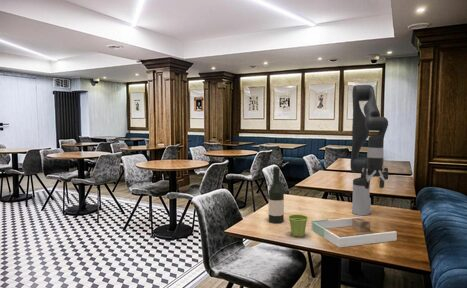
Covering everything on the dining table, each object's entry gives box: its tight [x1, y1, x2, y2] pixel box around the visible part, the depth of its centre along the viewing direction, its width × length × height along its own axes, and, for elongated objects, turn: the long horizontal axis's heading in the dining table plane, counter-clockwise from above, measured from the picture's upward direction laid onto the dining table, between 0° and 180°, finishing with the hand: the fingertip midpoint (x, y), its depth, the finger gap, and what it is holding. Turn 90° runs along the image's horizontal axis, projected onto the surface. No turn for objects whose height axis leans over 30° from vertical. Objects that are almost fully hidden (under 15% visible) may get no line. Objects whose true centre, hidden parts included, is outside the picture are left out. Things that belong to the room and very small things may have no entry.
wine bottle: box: [268, 166, 285, 225], centre depth 172 cm, size 8×8×30 cm
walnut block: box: [351, 217, 371, 233], centre depth 160 cm, size 6×6×5 cm
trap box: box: [310, 216, 398, 248], centre depth 152 cm, size 30×24×5 cm
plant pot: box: [287, 213, 309, 238], centre depth 152 cm, size 9×9×9 cm
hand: (374, 188), depth 161 cm, fingers open, 8 cm apart
